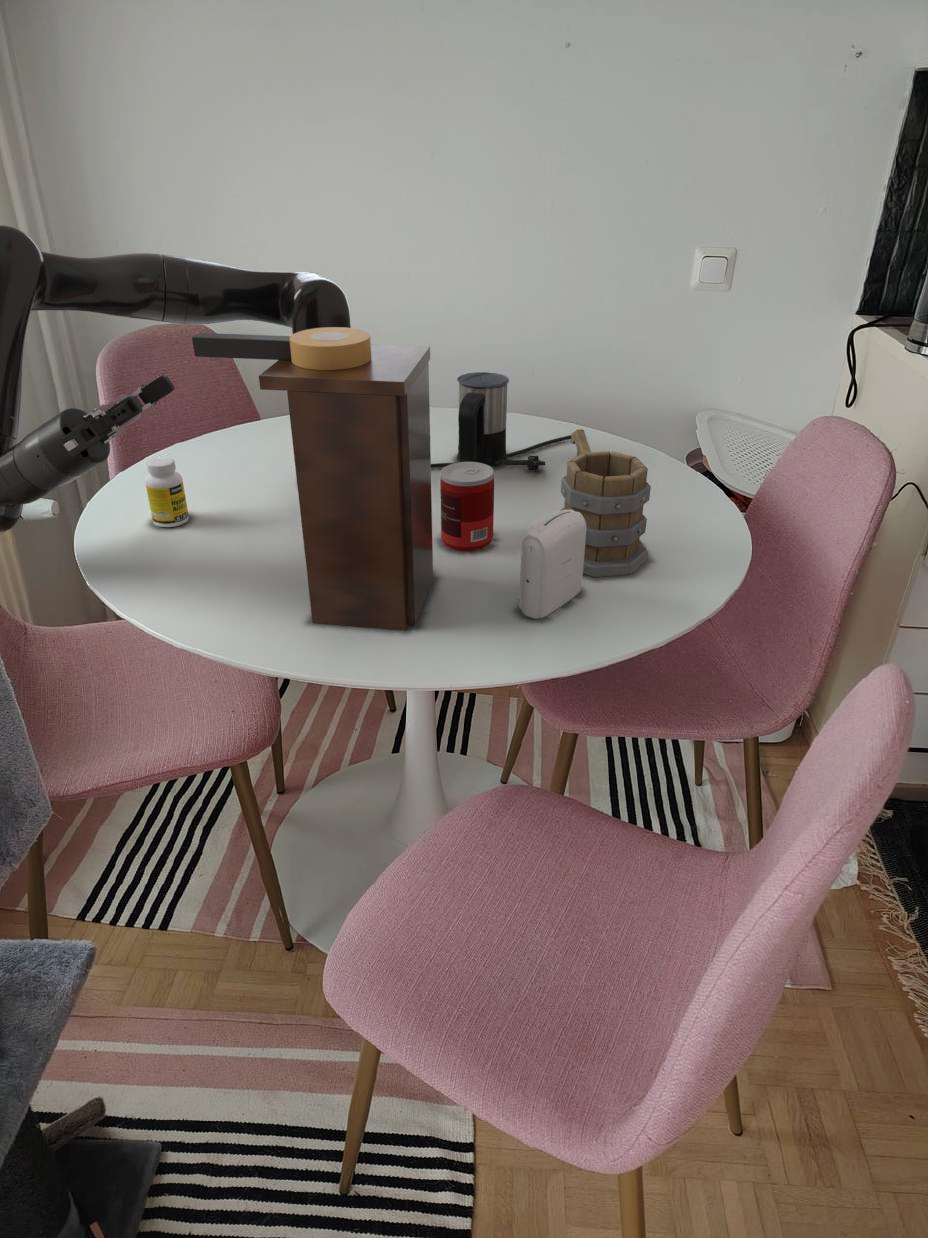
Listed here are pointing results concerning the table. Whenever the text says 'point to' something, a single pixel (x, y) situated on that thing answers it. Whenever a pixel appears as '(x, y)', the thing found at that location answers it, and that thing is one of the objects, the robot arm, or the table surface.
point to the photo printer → (552, 563)
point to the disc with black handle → (292, 347)
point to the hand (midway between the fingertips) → (153, 392)
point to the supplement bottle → (166, 493)
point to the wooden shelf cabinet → (363, 484)
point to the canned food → (467, 505)
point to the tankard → (608, 507)
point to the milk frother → (485, 421)
